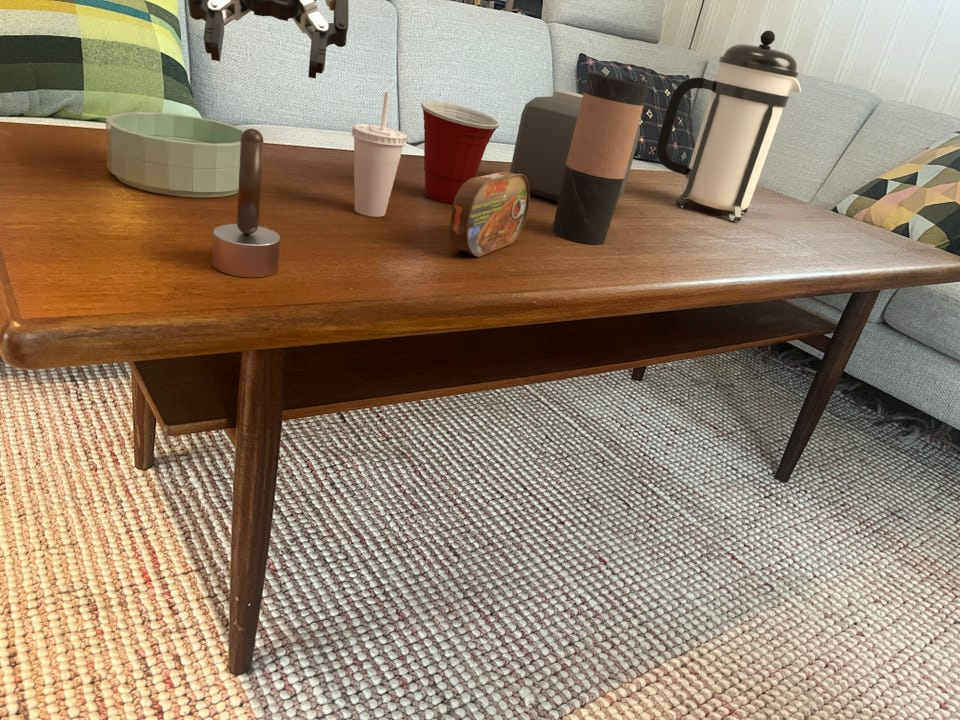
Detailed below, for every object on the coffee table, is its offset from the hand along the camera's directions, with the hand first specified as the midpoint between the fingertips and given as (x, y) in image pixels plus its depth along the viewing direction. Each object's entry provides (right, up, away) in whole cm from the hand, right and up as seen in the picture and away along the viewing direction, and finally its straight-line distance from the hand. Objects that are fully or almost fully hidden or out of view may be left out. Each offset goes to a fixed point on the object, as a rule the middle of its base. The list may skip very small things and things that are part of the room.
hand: (264, 63), depth 66 cm
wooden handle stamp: (-1, -18, -1) cm, 19 cm away
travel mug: (+33, -10, +31) cm, 46 cm away
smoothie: (+6, -9, +22) cm, 25 cm away
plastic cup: (+15, -4, +36) cm, 39 cm away
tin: (+20, -14, +18) cm, 30 cm away
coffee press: (+60, 0, +65) cm, 88 cm away
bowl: (-15, -6, +19) cm, 25 cm away
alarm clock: (+32, -1, +50) cm, 59 cm away
